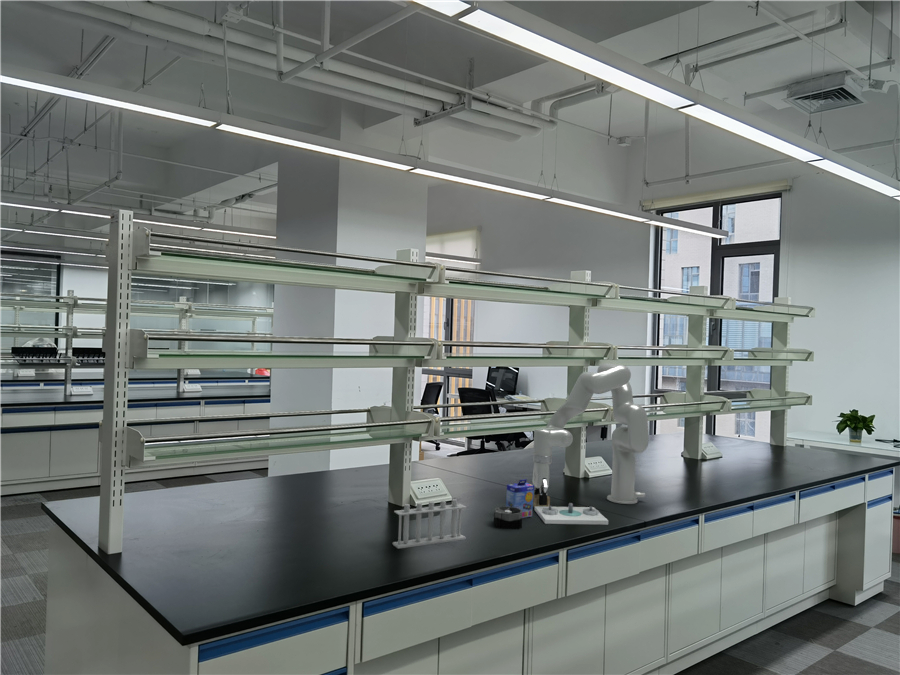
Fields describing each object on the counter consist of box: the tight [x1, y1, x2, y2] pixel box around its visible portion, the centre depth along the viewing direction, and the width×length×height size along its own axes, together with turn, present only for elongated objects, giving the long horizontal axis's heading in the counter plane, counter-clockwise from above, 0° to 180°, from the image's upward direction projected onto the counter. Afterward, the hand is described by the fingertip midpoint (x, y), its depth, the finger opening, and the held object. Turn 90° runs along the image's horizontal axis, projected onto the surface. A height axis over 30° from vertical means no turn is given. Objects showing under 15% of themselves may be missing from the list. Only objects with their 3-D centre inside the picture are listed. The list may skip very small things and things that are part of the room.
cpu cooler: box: [493, 506, 523, 530], centre depth 237 cm, size 10×6×10 cm
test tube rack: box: [392, 498, 468, 550], centre depth 214 cm, size 25×4×13 cm, turn 119°
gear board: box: [534, 502, 609, 526], centre depth 250 cm, size 24×18×5 cm
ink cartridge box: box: [505, 478, 535, 519], centre depth 248 cm, size 10×6×14 cm, turn 125°
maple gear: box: [533, 494, 551, 508], centre depth 265 cm, size 8×8×4 cm
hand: (540, 501), depth 265 cm, fingers closed on maple gear, 7 cm apart
